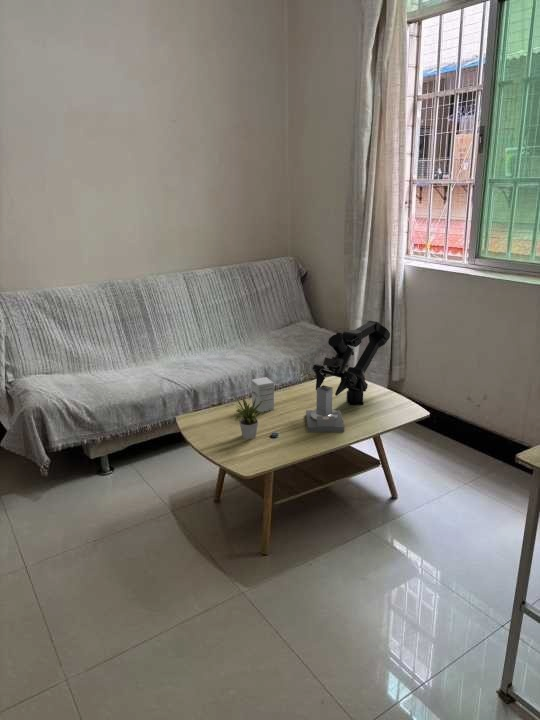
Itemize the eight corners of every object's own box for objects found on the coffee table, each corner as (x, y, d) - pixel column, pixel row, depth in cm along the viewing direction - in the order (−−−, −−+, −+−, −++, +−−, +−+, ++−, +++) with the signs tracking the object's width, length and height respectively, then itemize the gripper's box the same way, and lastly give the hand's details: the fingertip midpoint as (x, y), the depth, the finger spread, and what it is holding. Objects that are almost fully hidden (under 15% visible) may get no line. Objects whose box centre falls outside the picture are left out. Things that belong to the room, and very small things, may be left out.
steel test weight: (322, 410, 227) (323, 385, 224) (332, 413, 225) (332, 387, 221) (316, 413, 224) (316, 388, 221) (325, 416, 222) (326, 391, 218)
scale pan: (336, 410, 230) (336, 407, 230) (339, 422, 220) (339, 419, 219) (309, 410, 230) (309, 408, 230) (311, 422, 220) (311, 419, 219)
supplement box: (251, 406, 240) (250, 379, 236) (267, 403, 243) (266, 376, 239) (258, 413, 234) (257, 385, 230) (274, 409, 237) (274, 382, 232)
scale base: (339, 414, 231) (340, 402, 229) (344, 431, 216) (344, 419, 214) (306, 414, 231) (306, 402, 230) (308, 432, 216) (308, 419, 214)
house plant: (220, 439, 211) (218, 399, 206) (238, 425, 223) (237, 387, 217) (253, 447, 205) (251, 406, 200) (270, 432, 216) (269, 393, 211)
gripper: (314, 345, 226) (298, 378, 222) (354, 353, 215) (338, 389, 211) (325, 358, 235) (309, 390, 230) (364, 367, 223) (348, 401, 219)
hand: (325, 392), depth 222 cm, fingers open, 9 cm apart
